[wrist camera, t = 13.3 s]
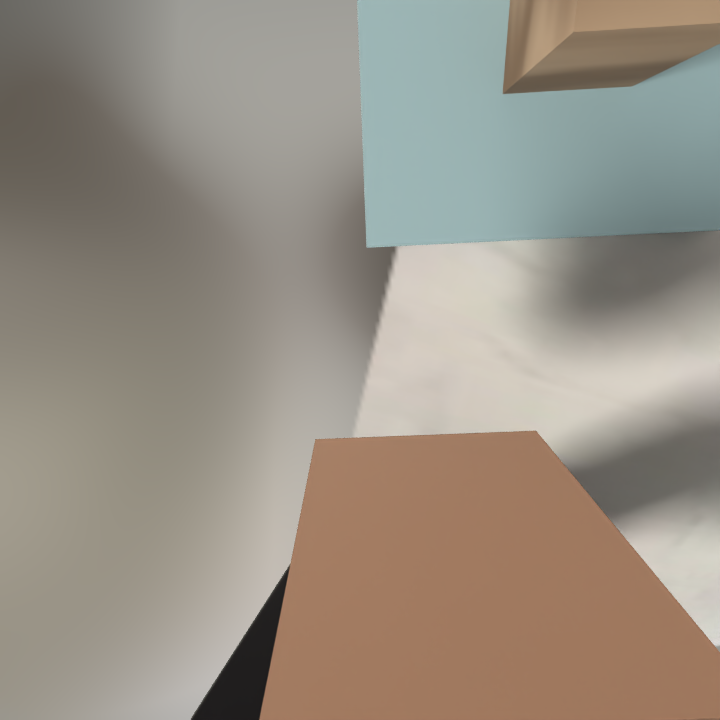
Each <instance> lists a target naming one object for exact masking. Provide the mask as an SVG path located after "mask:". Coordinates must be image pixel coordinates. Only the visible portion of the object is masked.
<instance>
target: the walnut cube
mask: <svg viewBox="0 0 720 720" xmlns="http://www.w3.org/2000/svg"><path fill="white" fill-rule="evenodd" d="M718 44H720V0H510V6H509V19H508V31H507V44H506V56H505V69H504V81H503V94H513V93H530V92H547V91H564V90H581V89H598V88H615V87H632V86H634V85H636V84H638V83H640V82H642V81H644V80H646V79H648V78H650V77H652V76H654V75H657V74H659V73H661V72H663V71H665V70H667V69H669V68H671V67H673V66H675V65H677V64H679V63H681V62H683V61H685V60H687V59H689V58H691V57H693V56H695V55H698V54H700V53H702V52H704V51H706V50H708V49H710V48H712V47H714V46H716V45H718Z"/></svg>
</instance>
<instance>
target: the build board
mask: <svg viewBox="0 0 720 720" xmlns="http://www.w3.org/2000/svg"><path fill="white" fill-rule="evenodd" d="M509 6H510V0H357V7H358V34H359V58H360V59H359V60H360V86H361V112H362V138H363V161H364V162H363V164H364V188H365V189H364V190H365V217H366V241H367V242H366V243H367V247H388V246H408V245H428V244H449V243H469V242H490V241H510V240H531V239H551V238H572V237H592V236H613V235H633V234H654V233H674V232H695V231H715V230H720V44H718V45H716V46H714V47H712V48H710V49H708V50H706V51H704V52H702V53H700V54H698V55H695V56H693V57H691V58H689V59H687V60H685V61H683V62H681V63H679V64H677V65H675V66H673V67H671V68H669V69H667V70H665V71H663V72H661V73H659V74H657V75H654V76H652V77H650V78H648V79H646V80H644V81H642V82H640V83H638V84H636V85H634V86H632V87H615V88H598V89H581V90H564V91H547V92H530V93H513V94H503V81H504V69H505V56H506V44H507V31H508V19H509Z"/></svg>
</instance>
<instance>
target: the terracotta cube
mask: <svg viewBox="0 0 720 720" xmlns="http://www.w3.org/2000/svg"><path fill="white" fill-rule="evenodd" d="M259 720H720V652H719V651H718V650H717V648H716V647H715V646H714V645H713V644H712V642H711V641H710V640H709V639H708V637H707V636H706V635H705V634H704V633H703V631H702V630H701V629H700V628H699V627H698V625H697V624H696V623H695V622H694V621H693V619H692V618H691V617H690V616H689V615H688V613H687V612H686V611H685V610H684V609H683V607H682V606H681V605H680V604H679V603H678V601H677V600H676V599H675V598H674V597H673V595H672V594H671V593H670V592H669V591H668V589H667V588H666V587H665V586H664V584H663V583H662V582H661V581H660V580H659V578H658V577H657V576H656V575H655V574H654V572H653V571H652V570H651V569H650V568H649V566H648V565H647V564H646V563H645V562H644V560H643V559H642V558H641V557H640V556H639V554H638V553H637V552H636V551H635V550H634V548H633V547H632V546H631V545H630V544H629V542H628V541H627V540H626V539H625V537H624V536H623V535H622V534H621V533H620V531H619V530H618V529H617V528H616V527H615V525H614V524H613V523H612V522H611V521H610V519H609V518H608V517H607V516H606V515H605V513H604V512H603V511H602V510H601V509H600V507H599V506H598V505H597V504H596V503H595V501H594V500H593V499H592V498H591V497H590V495H589V494H588V493H587V492H586V490H585V489H584V488H583V487H582V486H581V484H580V483H579V482H578V481H577V480H576V478H575V477H574V476H573V475H572V474H571V472H570V471H569V470H568V469H567V468H566V466H565V465H564V464H563V463H562V462H561V460H560V459H559V458H558V457H557V456H556V454H555V453H554V452H553V451H552V450H551V448H550V447H549V446H548V445H547V443H546V442H545V441H544V440H543V439H542V437H541V436H540V435H539V434H538V433H537V431H519V432H492V433H466V434H440V435H414V436H388V437H362V438H336V439H316V440H315V444H314V449H313V454H312V459H311V464H310V469H309V474H308V479H307V485H306V489H305V494H304V499H303V504H302V509H301V514H300V519H299V524H298V529H297V534H296V539H295V544H294V549H293V554H292V559H291V564H290V569H289V574H288V579H287V584H286V589H285V594H284V599H283V604H282V609H281V614H280V619H279V624H278V629H277V634H276V639H275V644H274V649H273V654H272V659H271V664H270V669H269V674H268V679H267V684H266V689H265V694H264V699H263V704H262V709H261V714H260V719H259Z"/></svg>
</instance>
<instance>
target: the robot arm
mask: <svg viewBox="0 0 720 720" xmlns="http://www.w3.org/2000/svg"><path fill="white" fill-rule="evenodd" d="M289 569H290V565H289V567H288V569H287V570H286V571H285V573H284V575H283V576H282V578H281V579H280V581H279V582H278V584H277V585H276V587H275V589H274V590H273V592H272V593H271V595H270V597H269V598H268V599H267V601H266V603H265V604H264V606H263V607H262V609H261V610H260V612H259V614H258V615H257V617H256V618H255V620H254V621H253V623H252V624H251V626H250V628H249V629H248V631H247V632H246V634H245V635H244V637H243V638H242V640H241V642H240V643H239V645H238V646H237V648H236V649H235V651H234V652H233V654H232V655H231V657H230V659H229V660H228V662H227V663H226V665H225V667H224V668H223V669H222V671H221V673H220V674H219V676H218V677H217V679H216V680H215V682H214V683H213V685H212V687H211V688H210V690H209V691H208V693H207V694H206V696H205V697H204V699H203V701H202V702H201V704H200V705H199V707H198V708H197V710H196V711H195V713H194V715H193V716H192V718H191V720H259V719H260V714H261V709H262V704H263V699H264V694H265V689H266V684H267V679H268V674H269V669H270V664H271V659H272V654H273V649H274V644H275V639H276V634H277V629H278V624H279V619H280V614H281V609H282V604H283V599H284V594H285V589H286V584H287V579H288V574H289Z"/></svg>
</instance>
